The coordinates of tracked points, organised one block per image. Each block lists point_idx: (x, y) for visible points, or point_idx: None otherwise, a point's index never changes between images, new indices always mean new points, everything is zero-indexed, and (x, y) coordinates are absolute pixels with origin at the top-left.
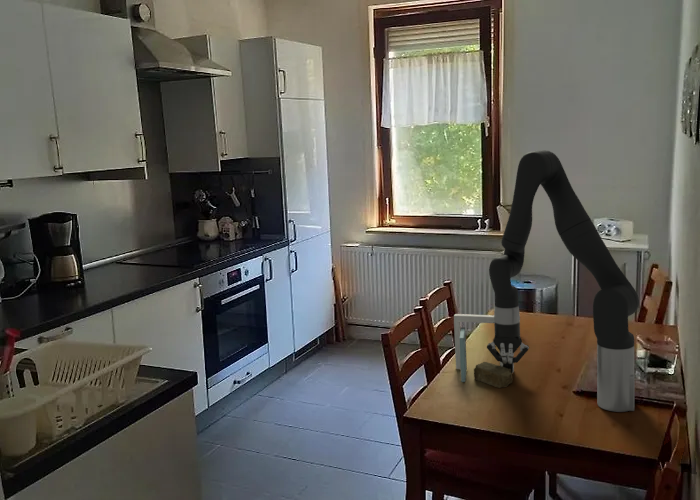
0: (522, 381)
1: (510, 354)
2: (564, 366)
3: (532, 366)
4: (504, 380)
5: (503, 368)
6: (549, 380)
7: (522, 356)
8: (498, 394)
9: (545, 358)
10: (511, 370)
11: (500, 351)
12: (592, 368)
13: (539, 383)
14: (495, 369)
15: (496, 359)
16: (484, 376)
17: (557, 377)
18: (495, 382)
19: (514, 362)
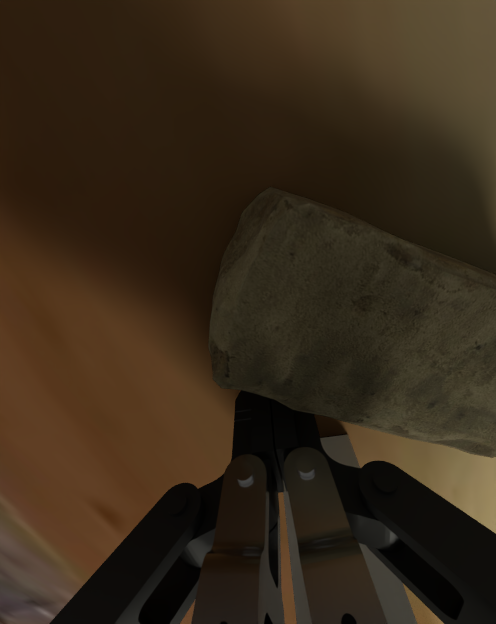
0: (180, 367)
1: (225, 607)
2: (112, 542)
3: None
4: (240, 243)
5: (289, 374)
6: (65, 424)
7: (80, 590)
8: (226, 8)
9: None
10: (243, 410)
11: (400, 604)
12: (17, 551)
13: (80, 375)
14: (370, 325)
15: (412, 481)
16: (450, 257)
17: (60, 462)
18: (319, 203)
19: (209, 486)
